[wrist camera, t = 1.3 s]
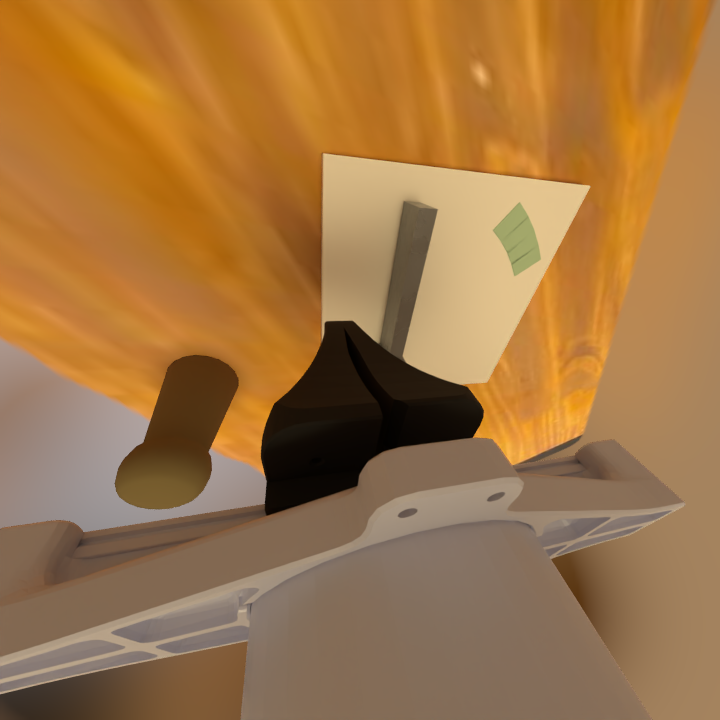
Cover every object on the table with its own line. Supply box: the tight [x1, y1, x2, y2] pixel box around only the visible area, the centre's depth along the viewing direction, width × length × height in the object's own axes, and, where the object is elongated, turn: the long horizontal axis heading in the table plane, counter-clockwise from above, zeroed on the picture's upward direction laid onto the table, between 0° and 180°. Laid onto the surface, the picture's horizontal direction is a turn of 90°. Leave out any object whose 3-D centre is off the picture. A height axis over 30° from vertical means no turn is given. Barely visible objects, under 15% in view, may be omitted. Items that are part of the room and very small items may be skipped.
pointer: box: [379, 201, 438, 362], centre depth 21 cm, size 15×3×3 cm, turn 174°
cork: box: [115, 355, 238, 509], centre depth 20 cm, size 6×6×11 cm
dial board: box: [321, 153, 590, 385], centre depth 24 cm, size 20×20×1 cm
